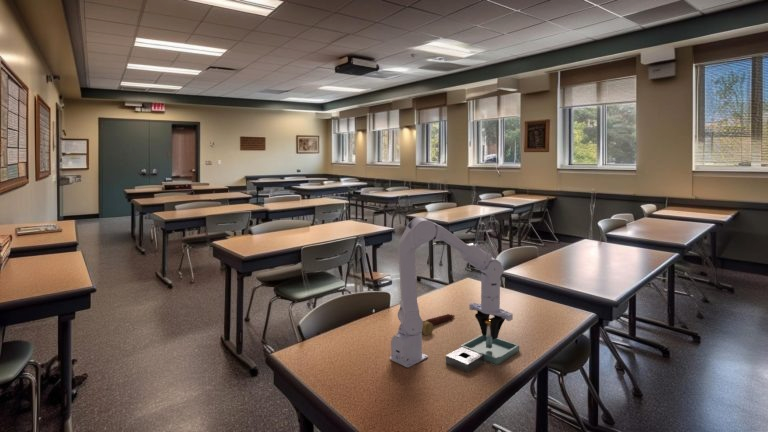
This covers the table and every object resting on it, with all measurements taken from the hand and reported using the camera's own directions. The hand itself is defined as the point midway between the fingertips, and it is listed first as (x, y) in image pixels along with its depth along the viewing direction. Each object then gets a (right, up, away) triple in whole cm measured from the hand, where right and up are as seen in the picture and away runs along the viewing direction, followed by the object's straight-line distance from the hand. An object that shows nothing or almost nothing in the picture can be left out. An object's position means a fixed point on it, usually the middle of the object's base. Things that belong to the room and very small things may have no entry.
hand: (490, 336), depth 131 cm
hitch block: (-9, -6, -7) cm, 13 cm away
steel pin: (0, -3, 0) cm, 3 cm away
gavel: (-14, -3, +23) cm, 28 cm away
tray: (0, -5, +1) cm, 5 cm away
